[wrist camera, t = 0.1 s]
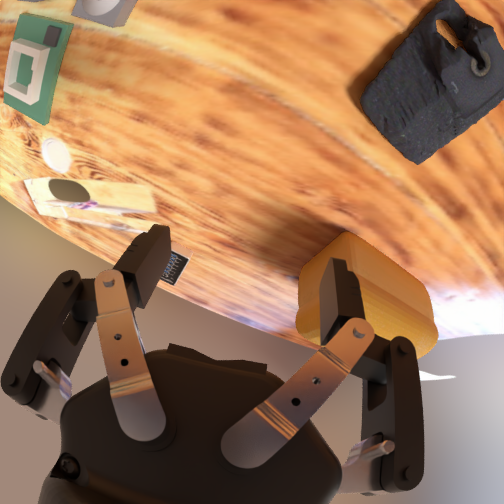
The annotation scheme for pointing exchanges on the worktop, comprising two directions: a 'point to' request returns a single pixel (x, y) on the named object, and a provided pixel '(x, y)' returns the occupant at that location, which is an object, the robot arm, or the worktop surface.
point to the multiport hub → (176, 263)
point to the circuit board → (35, 65)
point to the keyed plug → (31, 0)
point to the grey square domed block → (104, 11)
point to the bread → (370, 294)
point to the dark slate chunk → (436, 84)
